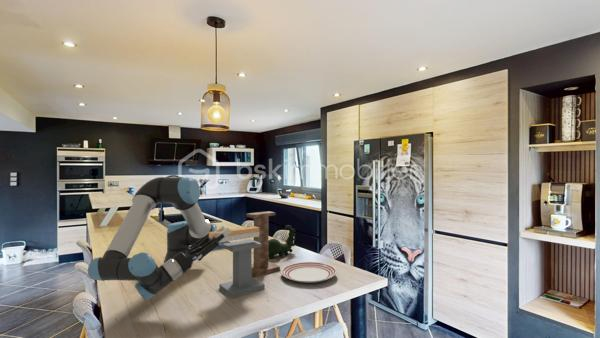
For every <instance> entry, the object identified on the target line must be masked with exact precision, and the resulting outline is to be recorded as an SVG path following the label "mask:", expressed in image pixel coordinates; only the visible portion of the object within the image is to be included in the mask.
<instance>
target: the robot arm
mask: <svg viewBox="0 0 600 338" xmlns="http://www.w3.org/2000/svg"><path fill="white" fill-rule="evenodd" d="M200 195H201V189H200V185H199V182H198V181H197V180H196V179H195V178H194V177H189V176H177V177H176V176H175V177H172V176H171V177H167V176H165V177H164V176H160V177H155V178H153V179H150V180H149V181H147V182H146V183H145V184H143V185H142V186H141V187H140V188H139V189H138V190H137V191H136V192H135V194H134V196H133V197H132V198H131V199H132V200H131V201H132V204H131V206H130V208H129V210H128V212H127V213H126V215H125V217H124V218H123V220H122V222H121V224H120V225H119V227H118V228H117V231H116V233H115V234H114V236H113V238H112V240H111V241H110V244H109V245H108V247H107V248H106V251H105V252H104V254H103V255H102V256H100V257H95V258H93V259H92V260H90V262H89V264H88V267H87V275H88V277H89V278H90V280H93V281H103V282H105V281H130V282H131V281H133V282H134V281H135V282H136V281H137V282H136V283H135V284H134V288H135V289H136V291H137V293H138V294H139V295H140V296H141V298H142V299H143V300H145V301H147V300H150V299H151V298H153V297H154V296H156V295H158V294H159V293H160V292H161V291H163V290H164V289H165V288H166V287H168V286H169V285H170V284H171V283H173V282H174V281H175V280H178V278H179V277H180V276H182V275H183V273H186V272H187V271H188V270H190V269H191V268H192V265H193V263H194V262H195V261H197V260H198V262H199V261H202V259H204V257H206V256H207V255H208V254H210V253H211V252H212V251H213V250H214V249H216V248H217V247H218V246H219V245H220V243H221V242H220V241H221V240H222V239H224V238H225V237H226V236H228V235H229V234H230V233H231V232H230V230H229V229H230V228H229V227H224V225H222V226H221V227H219V228H218V227H217V224H216V223H211V222H210V221H209V219H206V218H205V216H204V214H203V212H202V209H201V208H200V206H199V203H198V201H199V200H200ZM158 204H172V207H173V208H174V209H176V210H177V211H179V212H180V213H181V215H182V216H183V219H184V220H183V221H177V222H176V221H175V222H173V223H170V224H168V225H167V229H166V230H167V231H166V253H165V257H164V259H163V263H162V264H161V265H160V266H158V264H157V263H156V260H155V259H154V258H153V257H152V256H151V255H150V254H149V253H147V252H139V253H137V254H134V255H133V256H132V257H129V256H130V253H131V251H132V249H133V247H134V245H135V243H136V241H137V239H138V237H139V235H140V232H141V231H142V229H143V227H144V225H145V223H146V221H147V219H148V216H149V215H150V213H151V211H152V210H155V208H156V207H157V205H158ZM222 230H223V231H222ZM214 231H222V232H220V233H219V234H218V235H216V236H215V238H214V239H212V240H211V241H209V232H214Z"/></svg>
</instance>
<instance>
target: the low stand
mask: <svg viewBox="0 0 600 338" xmlns="http://www.w3.org/2000/svg"><path fill="white" fill-rule="evenodd" d="M259 247H262V243H259V242H256V241H254V239H251V238H249V239H243V240H239V241H238V240H236V241H231V242H225V243H222V248H224V249H226V250H227V251H230V252H232V281H227V282H223V283H220V284H219V290H220V291H222V292H223V293H224V294H226V295H227V296H228V297H229V298H231V299H233V298H236V297H239V296H244V295H246V294H251V293H254V292H258V291H261V290H265V287H266V286H265V285H266V284H265V283H263V282H262V281H260V280H258V279H257V278H255V277H252V276H251V265H252V253H253V252H252V249H253V250H254V248H259Z"/></svg>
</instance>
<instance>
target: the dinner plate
mask: <svg viewBox="0 0 600 338" xmlns="http://www.w3.org/2000/svg"><path fill="white" fill-rule="evenodd" d="M337 271H338V270H337V268H336V267H334V266H333V265H331V264H328V263H324V262H317V261H302V262H294V263H291V264H289V265H288V264H287V265H286V266H284V267H283V268H282V269H280V273H281V275H282V276H283V277H284V278H286V279H288V280H291V281H294V282H298V283H305V284H314V283H320V282H324V281H327V280H329V279H331V278H333V277H334V276H336V275H337Z"/></svg>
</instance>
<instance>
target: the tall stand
mask: <svg viewBox="0 0 600 338" xmlns="http://www.w3.org/2000/svg"><path fill="white" fill-rule="evenodd" d="M276 213H277V212H274V211H269V210H268V211H259V212H258V211H257V212H250V213H246V217H247V218H251V219H253V226H256V227H259V237H253V240H254V241H256V242H259V243H262V247H259V248H253V263H251V277H253V278H255V277H258V276H262V275H267V274H271V273H275V272H281V266H280V265H277V264H275V263H273V262H271V261H269V257H268V241H269V236H270V235H269V230H270V229H269V227H270V225H269V223H270V222H269V220H270V219H269V217H271V216H272V217H274V216H276Z"/></svg>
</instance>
